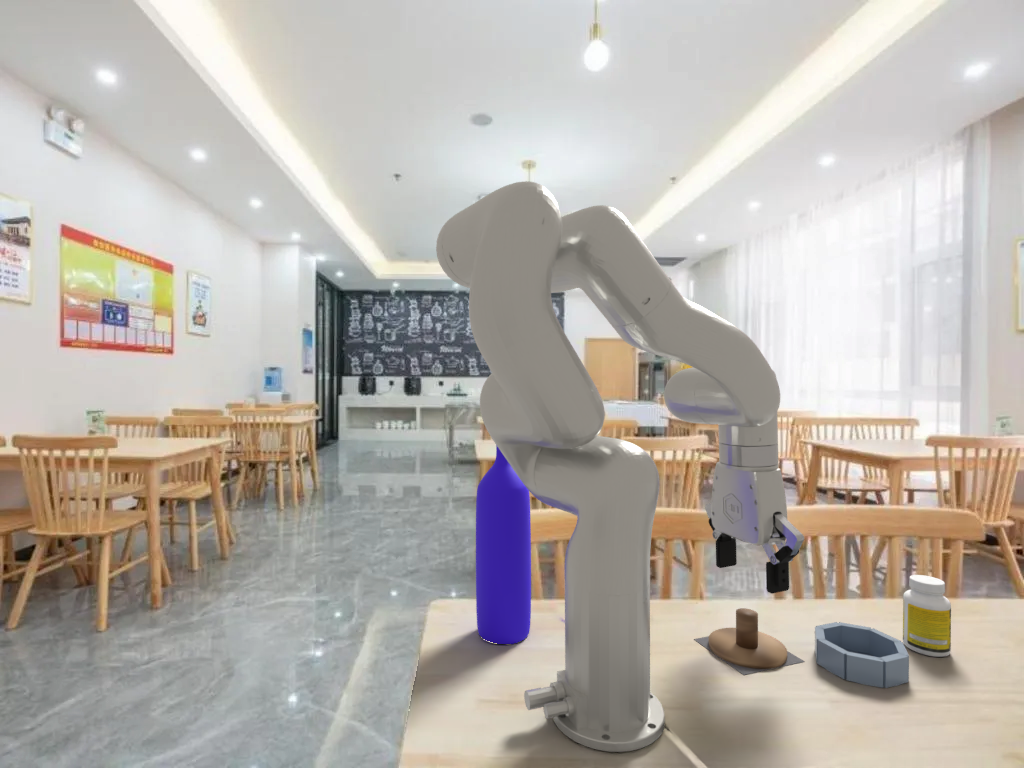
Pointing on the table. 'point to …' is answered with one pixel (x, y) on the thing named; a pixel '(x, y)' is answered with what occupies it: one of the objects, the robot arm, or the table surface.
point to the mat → (744, 670)
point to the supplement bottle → (927, 617)
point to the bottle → (503, 555)
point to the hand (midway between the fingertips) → (750, 577)
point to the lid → (747, 643)
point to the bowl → (861, 654)
